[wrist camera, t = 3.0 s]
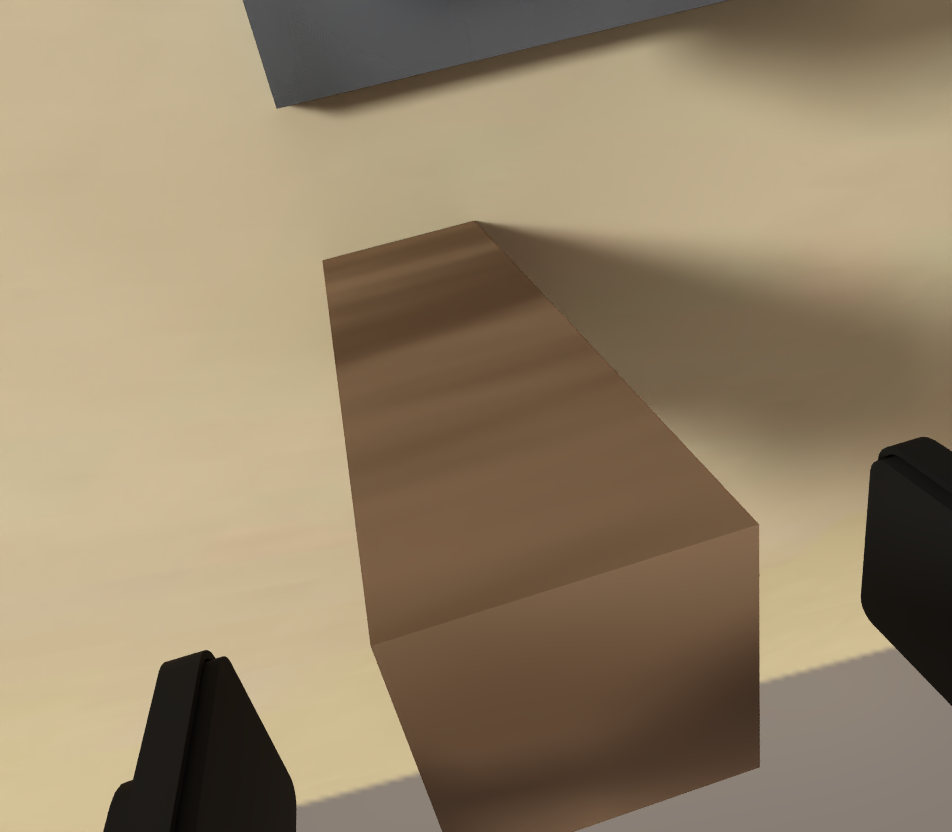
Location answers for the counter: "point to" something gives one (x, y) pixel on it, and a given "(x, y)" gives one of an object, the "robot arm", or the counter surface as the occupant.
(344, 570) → the counter surface
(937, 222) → the counter surface
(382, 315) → the brown rectangular wood block
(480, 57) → the bracket
